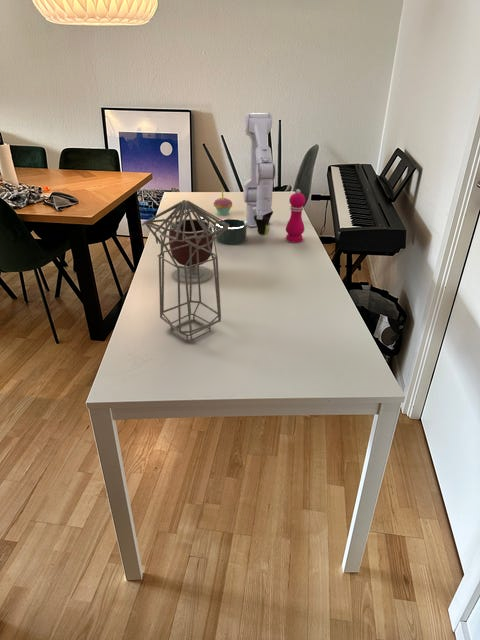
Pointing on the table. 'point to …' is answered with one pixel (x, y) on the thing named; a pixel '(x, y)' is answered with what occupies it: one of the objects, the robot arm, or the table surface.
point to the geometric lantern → (193, 208)
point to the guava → (265, 231)
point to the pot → (232, 232)
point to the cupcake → (223, 205)
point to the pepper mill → (295, 218)
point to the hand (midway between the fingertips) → (262, 231)
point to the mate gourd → (184, 252)
